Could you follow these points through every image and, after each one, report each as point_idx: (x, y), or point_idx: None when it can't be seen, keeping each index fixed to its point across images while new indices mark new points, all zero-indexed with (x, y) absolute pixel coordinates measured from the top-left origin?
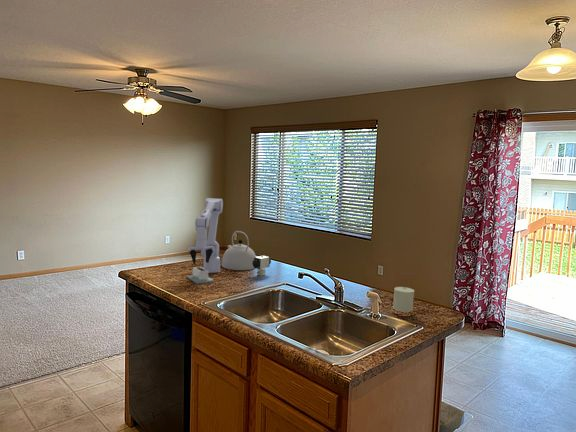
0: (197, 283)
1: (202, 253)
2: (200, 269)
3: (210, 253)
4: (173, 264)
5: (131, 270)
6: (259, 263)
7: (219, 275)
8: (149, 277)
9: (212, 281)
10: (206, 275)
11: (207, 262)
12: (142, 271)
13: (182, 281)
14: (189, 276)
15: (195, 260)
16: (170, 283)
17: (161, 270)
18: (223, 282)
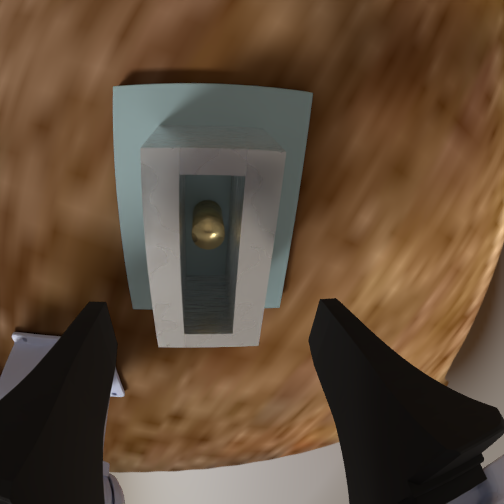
0: (297, 90)
1: (114, 489)
2: (183, 304)
3: (1, 430)
4: (223, 462)
5: None
6: None
7: (21, 269)
8: (433, 339)
9: (130, 85)
10: (176, 134)
11: (102, 305)
12: None
13: (364, 213)
14: (275, 283)
15: (349, 332)
16: (446, 201)
17: (318, 418)
18: (45, 48)
